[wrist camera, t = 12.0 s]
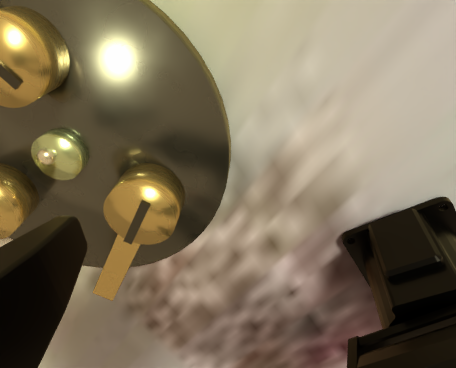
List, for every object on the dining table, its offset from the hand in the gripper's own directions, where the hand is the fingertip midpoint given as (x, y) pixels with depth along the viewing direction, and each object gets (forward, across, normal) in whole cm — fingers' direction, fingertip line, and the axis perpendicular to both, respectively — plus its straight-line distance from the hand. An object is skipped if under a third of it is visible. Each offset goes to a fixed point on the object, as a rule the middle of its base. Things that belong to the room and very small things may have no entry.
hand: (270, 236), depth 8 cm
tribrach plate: (+12, +12, +3) cm, 17 cm away
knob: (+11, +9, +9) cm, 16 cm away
